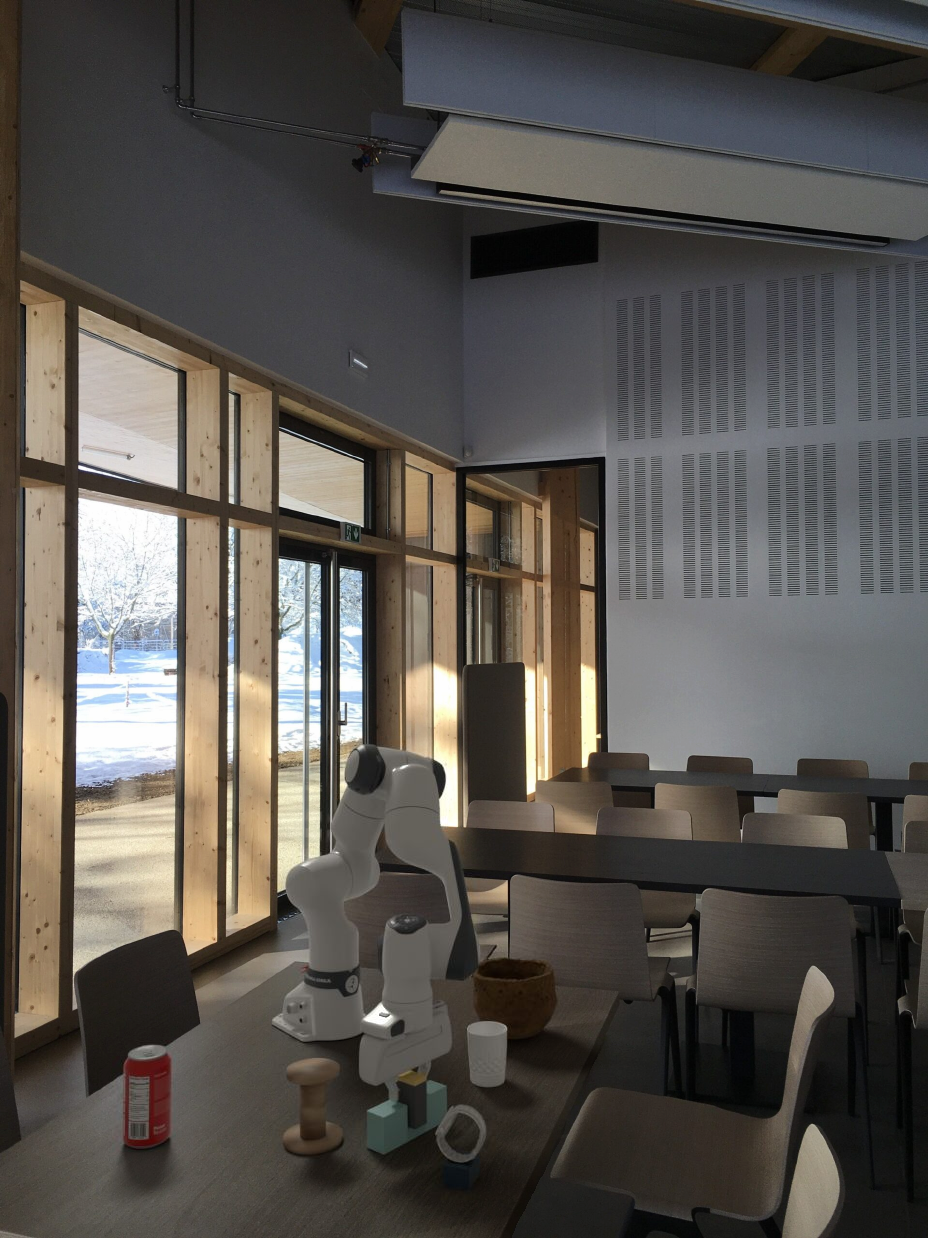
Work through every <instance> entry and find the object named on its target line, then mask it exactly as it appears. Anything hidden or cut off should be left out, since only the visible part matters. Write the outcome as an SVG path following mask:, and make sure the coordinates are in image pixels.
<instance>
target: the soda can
mask: <svg viewBox="0 0 928 1238" xmlns="http://www.w3.org/2000/svg"><path fill="white" fill-rule="evenodd" d="M168 1050H169V1049H168V1048H167V1047H166V1046H165V1045H161V1044H147V1045H142V1046H138V1047H135V1048H133V1049H132V1050H130V1051H129V1052H128V1053H127V1058H126V1059H125V1061H124V1063H123V1076H122V1077H123V1082H122V1083H123V1084H122V1086H123V1087H122V1088H123V1090H122V1091H123V1093H122V1095H123V1096H122V1100H123V1101H122V1142H123V1143H124V1144H125V1145H126V1146H127V1147H131V1148H133V1149H136V1150H137V1149H138V1150H147V1149H151V1148H155V1147H157V1146H159V1145H161V1144H162V1143H164V1142H165V1141H166V1140H168V1138H169V1137H170V1136H171V1133H172V1067H173V1066H172V1061H173V1060H172V1057H171V1055H170V1054H169V1052H168Z"/></svg>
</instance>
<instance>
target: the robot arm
mask: <svg viewBox="0 0 928 1238" xmlns="http://www.w3.org/2000/svg"><path fill="white" fill-rule="evenodd" d="M344 768H345V769H344V780H345V783H346V785H347V786H346V787H345V789H344V791H343V794H342V796H341V798H340V801H339V803H338V805H337V808H336V811H335V812H334V815H333V818H332V820H331V823H330V832H331V834H332V837H334V839H335V844H334V847H333V849H332V850H331V851H330V852H329V853H327V854H324V855H320V856H315V857H311V858H308V859H305V860H303V861H302V862H300V863H299V864H297V865H295V866H293V867H292V868H291V869H290V870H289V871H288V873H287V875H286V878H285V887H284V888H285V892H286V895H287V898H288V900H289V901H290V902H291V904H292V905H293V906H294V907H296V908H297V909H298V910H299V911H300V912H301V914H302V916H303V919H304V921H305V924H306V928H307V932H308V948H309V949H308V950H309V951H308V957H309V958H308V959H309V960H308V961H309V963H308V964H307V965H305V966H302V967H300V969H301V971H300V972H301V974H302V973H304V978H303V981H302V982H300V983H299V984H298V985H297V986H296V987H294V988H293V989H292V990H291V991H289V992H288V993H287V995H286V996H285V998H284V1000H283V1005H282V1013H279V1014H278V1015H276V1016H275V1017H273V1018H272V1020H271V1024H272V1026H274V1027H275V1028H278V1029H279V1030H282V1031H283V1032H284V1033H286V1034H288V1035H290V1036H292V1037H294V1038H295V1039H297V1040H298V1041H301V1042H306V1043H307V1042H314V1041H315V1042H316V1041H339V1040H346V1039H349V1038H354V1037H356V1036H359V1035H361V1034H362V1033H364V1034H363V1035H362V1037H361V1040H360V1043H359V1053H358V1062H359V1063H358V1073H359V1077H360V1079H361V1080H362V1081H363V1082H364V1083H367V1084H369V1085H372V1086H379V1085H381V1084H385V1086H386V1087H387V1090H388V1100H389V1099H390V1100H391V1101H393V1102H396V1101H398V1100H400V1099H402V1089H400V1088H398V1087H397V1085H396V1082H397V1081H398V1076H399V1075H401V1074H403V1073H405V1072H407V1071H409V1070H411V1071H413V1070H414V1069H416V1068H417V1067H418V1069H417V1071H416V1072H417V1073H420V1074H423V1075H426V1076H427V1077H428V1074H429V1073H430V1070H431V1067H432V1061H433V1060H435V1059H437V1058H439V1057H441V1056H442V1057H443V1055H447V1054H448V1053H449V1052H450V1051H451V1048H452V1046H453V1038H452V1026H451V1020H450V1017H449V1012H448V1010H449V1009H448V1005H447V1004H446V1002H445V1001H443V1000H442V999H437V1000H435V1001H433V1000H434V997H433V996H434V994H433V989H432V984H431V983H432V982H431V980H441V979H442V980H447V981H455V982H456V981H458V982H459V981H460V982H464V981H466V980H467V979H469V978H470V977H471V976H473V973H474V972H475V971H476V970H477V969H478V967H479V963H480V962H481V961H480V960H481V946H480V945H481V944H480V940H479V938H478V935H477V932H476V929H475V926H474V921H473V918H472V913H471V906H470V901H469V897H468V890H467V885H466V881H465V875H464V870H463V865H462V861H461V857H460V854H459V850H458V847H457V845H456V843H455V842H454V841H453V840H450V839H448V837H447V836H446V834H445V833H444V831H443V829H442V828H443V827H442V825H441V806H440V799H441V797H442V796H443V793H444V791H445V788H446V784H447V775H446V771H445V768H444V766H443V763H440V762H439V761H437V760H436V759H434V758H431V757H429V756H427V757H425V756H422V755H419V754H418V753H414V752H411V751H409V750H404V749H397V748H391V747H384V746H377V745H375V744H370V743H368V744H365V743H364V744H363V743H362V744H358V745H357V746H356V747H354V748H353V749H352V750H351V751H350V753H349V755H348V757H347V760H346V762H345V766H344ZM383 829H384V836H385V843H386V845H387V847H388V848H389V849H388V850H390V851H391V853H393V854H394V856H395V857H397V858H398V859H399V860H401V861H403V862H404V863H406V864H409V865H411V866H414V867H417V868H418V869H419V868H420V869H423V870H425V871H427V872H429V873H431V874H433V875H435V876H436V877H438V878H439V879H440V880H441V881H442V883H443V885H444V890H445V895H446V900H447V904H448V905H447V907H448V910H449V916H450V920H449V921H448V922H446V923H429V921H428V920H427V919H426V917H424V916H422V915H419V914H416V913H401V914H397V915H394V916H392V917H391V918H389V919H388V920H387V921H386V924H385V928H384V932H382V933H381V934H380V935H379V937H378V939H377V945H376V946H377V971H379V973H381V975H382V976H383V980H384V985H383V989H382V993H381V996H382V997H381V1001H380V1002H379V1003H378V1004H377V1005H376V1006H375V1007H374V1008H373V1009H372V1010H371V1011H370V1012H369V1013H368V1014H366V1013H364V1003H363V994H362V986H361V984H360V982H361V979H362V978H361V977H362V975H361V974H362V968H361V964H360V961H359V960H360V959H359V953H360V952H359V947H360V946H359V938H360V937H359V930H358V927H357V926H356V925H355V924H354V923H353V922H352V921H350V920H348V918H347V915H346V912H345V908H344V903H345V901H346V902H347V901H349V900H352V899H356V898H359V897H361V896H363V895H365V894H366V893H368V892H369V891H371V890H373V888H375V887H376V886H377V885H378V883H379V880H380V876H381V868H380V864H379V861H378V859H377V858H376V847H377V843H378V841H379V838H380V835H381V833H382V831H383ZM302 969H303V970H302Z"/></svg>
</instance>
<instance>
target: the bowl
mask: <svg viewBox="0 0 928 1238" xmlns="http://www.w3.org/2000/svg"><path fill="white" fill-rule="evenodd" d="M472 978H473V980H472V982H473V992H472V1004H473V1008H474V1011H475V1013H476V1015H477V1018H478V1019H479V1022H483V1021H491V1022H498V1023H501V1024H504V1025H505V1026H506V1027H507V1040H523V1039H529V1038H531V1037H534V1036H536V1035H538V1034H539V1033H541V1032H542V1031H543V1030H544V1029H545V1028H546V1026H547V1025H548V1024H549V1023H550V1021H551V1020H552V1017H553V1016H554V1013H555V1010H556V1008H557V1005H558V1003H559V1002H558V1001H559V1000H558V997H557V993H556V979H555V978H556V975H555V972H554V968H553V967H552V965H551V964H550V963H548V962H547V961H544V960H538V959H533V958H532V959H521V958H511V957H509V958H508V957H506V956H504V957H496V958H494V957H493V958H490V959H487V960H483V961H480V962H479V967H478V969H477V970H476V971H475V972H474V973H473V974H472Z"/></svg>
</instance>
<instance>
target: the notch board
mask: <svg viewBox="0 0 928 1238" xmlns="http://www.w3.org/2000/svg"><path fill="white" fill-rule="evenodd" d="M447 1089H448V1087H447V1085H446V1084H443V1083H440V1082H436V1081H434V1080H431V1079H429V1080H427V1123H426V1124H424V1125H423V1126H421V1127H419V1128H417V1129H412V1128H410V1127H408V1118H407V1105H405V1104H402V1103H399V1102H397V1101H396V1102H393V1101H391V1100H389V1099H388V1100H385V1101H384V1102H381V1103H380V1104H377V1105H376V1106H374V1107H372V1108H369V1109H367V1110H366V1148H367V1149H369V1150H372V1151H374V1152H377V1153H378V1154H381V1155H386V1154H388V1153H390V1152H392V1151H393V1150H396V1149H397V1148H399V1147H401V1146H403V1145H405V1144H407V1143H408V1142H410V1141H413V1139H416V1138H417V1137H420V1136H422V1135H423V1134H425V1133H426V1132H429V1131H431V1130H432V1129H434V1128H435V1127H438V1126H439V1124H440V1123H441V1121H442V1119H443V1118H444V1116H445V1115H446V1113H447V1112H448V1097H447V1096H448V1093H447V1091H448V1090H447Z"/></svg>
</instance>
